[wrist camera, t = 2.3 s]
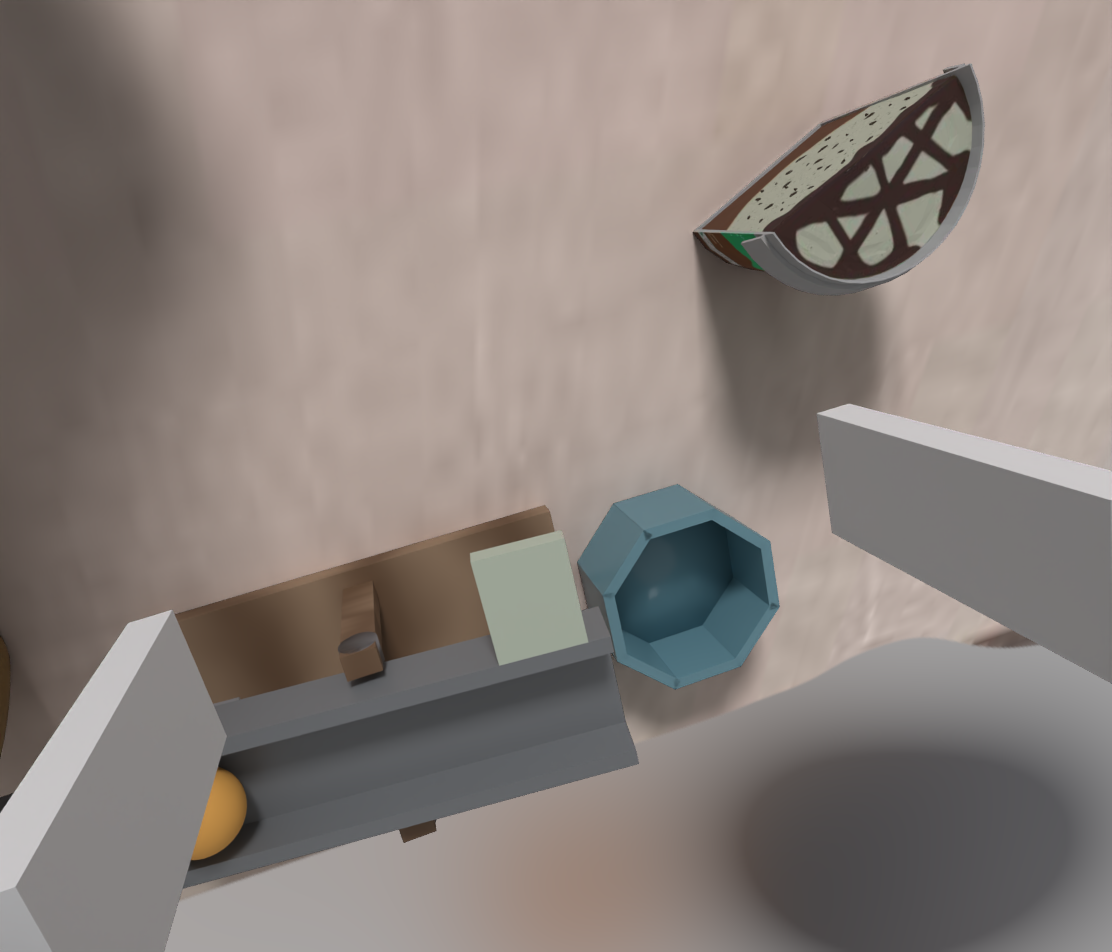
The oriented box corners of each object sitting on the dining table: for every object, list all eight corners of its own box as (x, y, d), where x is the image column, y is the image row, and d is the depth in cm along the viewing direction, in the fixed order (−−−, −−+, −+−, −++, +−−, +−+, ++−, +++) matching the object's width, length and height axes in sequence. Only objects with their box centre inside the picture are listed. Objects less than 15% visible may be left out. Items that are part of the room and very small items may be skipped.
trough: (200, 814, 39) (163, 896, 34) (110, 611, 35) (53, 670, 30) (617, 703, 40) (640, 766, 35) (570, 496, 36) (588, 534, 32)
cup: (600, 663, 47) (627, 706, 42) (566, 517, 44) (591, 546, 39) (744, 614, 48) (786, 650, 44) (721, 470, 46) (763, 492, 41)
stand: (222, 808, 43) (189, 938, 35) (142, 624, 40) (83, 718, 31) (587, 684, 47) (637, 773, 38) (544, 505, 43) (589, 560, 35)
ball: (188, 826, 36) (156, 890, 32) (158, 759, 35) (121, 819, 31) (268, 805, 36) (245, 867, 32) (240, 738, 35) (213, 795, 31)
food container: (731, 337, 44) (833, 354, 34) (671, 249, 42) (763, 241, 32) (891, 199, 44) (1036, 178, 35) (841, 104, 42) (980, 55, 32)
